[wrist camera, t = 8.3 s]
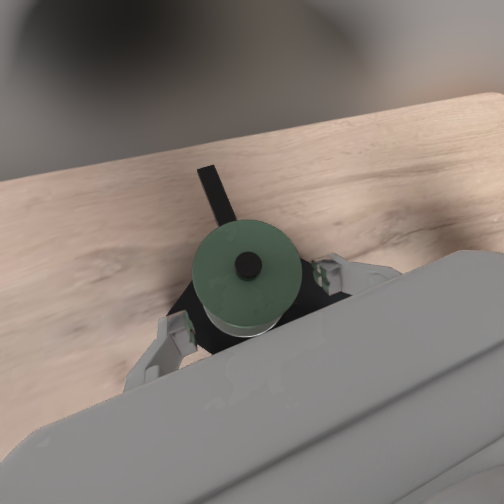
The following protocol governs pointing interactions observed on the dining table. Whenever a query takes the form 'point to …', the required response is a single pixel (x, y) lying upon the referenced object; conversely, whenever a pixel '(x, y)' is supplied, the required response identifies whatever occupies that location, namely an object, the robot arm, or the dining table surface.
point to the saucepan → (243, 264)
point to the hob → (217, 340)
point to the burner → (240, 331)
